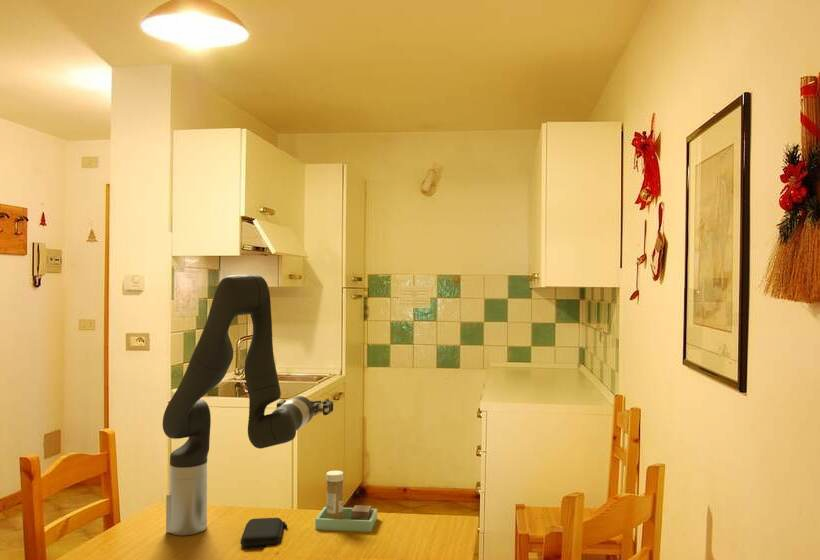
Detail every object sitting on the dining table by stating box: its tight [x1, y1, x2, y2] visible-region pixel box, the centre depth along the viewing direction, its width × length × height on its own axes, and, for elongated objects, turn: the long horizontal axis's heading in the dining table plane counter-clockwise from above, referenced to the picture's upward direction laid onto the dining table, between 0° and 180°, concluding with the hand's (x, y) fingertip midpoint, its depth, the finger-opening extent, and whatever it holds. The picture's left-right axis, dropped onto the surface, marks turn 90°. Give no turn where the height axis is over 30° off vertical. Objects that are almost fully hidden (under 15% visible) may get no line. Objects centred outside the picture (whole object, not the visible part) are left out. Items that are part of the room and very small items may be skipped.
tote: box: [314, 506, 378, 533], centre depth 167 cm, size 15×9×3 cm, turn 84°
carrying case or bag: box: [239, 517, 288, 549], centre depth 159 cm, size 11×3×15 cm
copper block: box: [351, 504, 372, 520], centre depth 167 cm, size 4×4×4 cm
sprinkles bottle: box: [325, 470, 344, 519], centre depth 167 cm, size 5×5×14 cm
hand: (312, 401), depth 174 cm, fingers open, 8 cm apart
